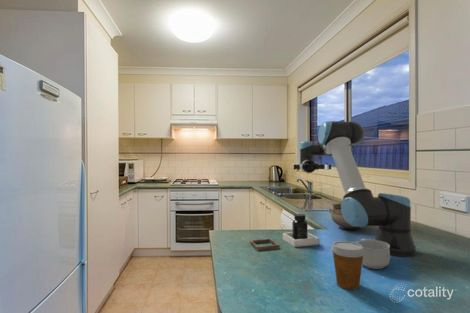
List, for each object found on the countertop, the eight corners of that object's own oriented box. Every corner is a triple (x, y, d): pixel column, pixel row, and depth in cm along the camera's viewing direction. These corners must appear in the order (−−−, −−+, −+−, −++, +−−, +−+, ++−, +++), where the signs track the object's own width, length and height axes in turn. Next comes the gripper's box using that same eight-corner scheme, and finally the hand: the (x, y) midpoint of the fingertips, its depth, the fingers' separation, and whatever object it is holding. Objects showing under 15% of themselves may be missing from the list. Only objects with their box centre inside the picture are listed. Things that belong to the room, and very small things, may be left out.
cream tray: (319, 244, 124) (319, 238, 124) (294, 247, 121) (294, 240, 121) (305, 237, 135) (305, 231, 135) (282, 239, 132) (282, 233, 132)
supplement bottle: (290, 239, 131) (290, 213, 131) (304, 238, 132) (304, 213, 132) (295, 243, 124) (294, 216, 125) (309, 242, 125) (309, 216, 125)
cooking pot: (380, 229, 149) (380, 207, 149) (363, 236, 137) (363, 211, 137) (337, 221, 168) (337, 201, 168) (319, 226, 156) (319, 205, 156)
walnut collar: (279, 248, 119) (279, 245, 119) (257, 250, 116) (257, 247, 116) (270, 241, 129) (270, 238, 129) (249, 243, 126) (249, 240, 126)
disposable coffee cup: (371, 291, 80) (371, 249, 80) (339, 293, 80) (339, 250, 80) (354, 277, 90) (354, 240, 90) (326, 278, 89) (325, 241, 89)
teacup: (394, 273, 93) (394, 249, 93) (360, 270, 95) (360, 247, 96) (381, 258, 107) (381, 237, 107) (351, 256, 109) (351, 236, 109)
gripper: (330, 172, 166) (339, 174, 145) (287, 172, 169) (290, 174, 148) (329, 159, 167) (339, 160, 145) (287, 160, 169) (290, 160, 148)
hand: (314, 167), depth 147 cm, fingers open, 13 cm apart
